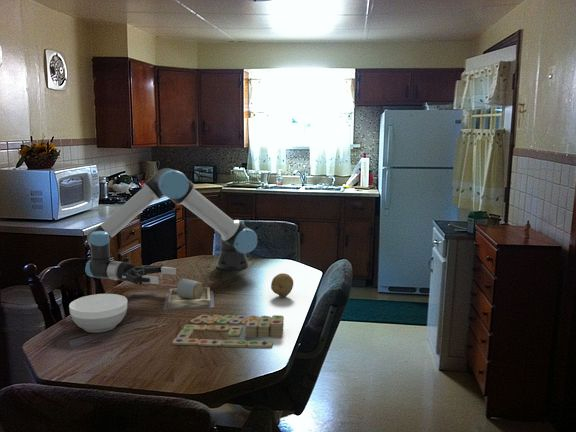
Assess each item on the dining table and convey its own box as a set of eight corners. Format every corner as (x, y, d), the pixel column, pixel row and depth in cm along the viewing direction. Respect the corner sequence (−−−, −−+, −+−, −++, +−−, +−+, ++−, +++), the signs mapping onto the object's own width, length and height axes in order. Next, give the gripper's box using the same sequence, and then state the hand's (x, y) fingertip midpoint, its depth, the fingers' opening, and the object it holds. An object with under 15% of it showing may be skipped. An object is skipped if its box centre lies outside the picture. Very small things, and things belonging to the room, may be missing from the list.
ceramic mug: (194, 302, 203) (194, 283, 202) (176, 299, 206) (176, 280, 205) (208, 294, 213) (208, 276, 212) (190, 292, 216) (190, 274, 214)
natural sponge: (280, 302, 207) (280, 278, 205) (266, 296, 214) (266, 273, 212) (297, 297, 213) (297, 274, 211) (283, 292, 219) (283, 269, 218)
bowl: (110, 339, 170) (109, 314, 168) (58, 334, 174) (56, 309, 172) (138, 319, 188) (137, 295, 187) (90, 314, 192) (89, 291, 190)
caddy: (209, 292, 217) (209, 287, 217) (210, 305, 202) (210, 299, 201) (170, 294, 214) (169, 288, 214) (167, 307, 199) (167, 301, 198)
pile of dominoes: (285, 319, 191) (285, 304, 190) (280, 350, 164) (280, 333, 163) (191, 316, 193) (191, 301, 192) (171, 346, 166) (170, 330, 165)
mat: (213, 291, 219) (213, 291, 219) (214, 308, 200) (214, 307, 200) (166, 293, 216) (166, 292, 216) (163, 310, 197) (163, 309, 197)
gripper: (138, 271, 228) (182, 276, 222) (102, 288, 205) (150, 294, 198) (138, 255, 227) (181, 259, 221) (101, 270, 203) (149, 275, 197)
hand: (167, 275), depth 210 cm, fingers open, 13 cm apart
